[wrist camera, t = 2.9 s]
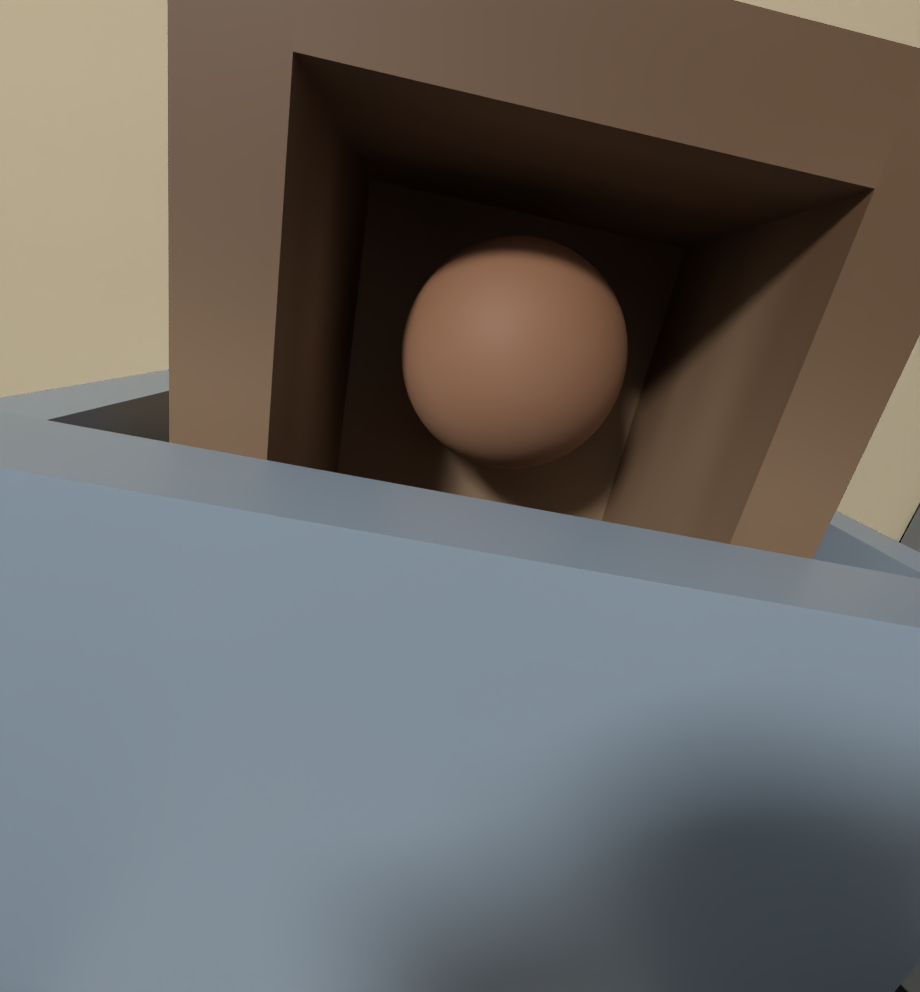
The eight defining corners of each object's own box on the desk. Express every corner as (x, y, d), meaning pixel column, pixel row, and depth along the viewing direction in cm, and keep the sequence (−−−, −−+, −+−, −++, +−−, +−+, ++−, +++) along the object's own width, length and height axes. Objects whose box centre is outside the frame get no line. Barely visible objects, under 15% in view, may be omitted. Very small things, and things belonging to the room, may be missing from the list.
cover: (551, 917, 10) (618, 1338, 6) (208, 874, 10) (16, 1299, 6) (729, 457, 7) (1148, 668, 3) (226, 359, 6) (-206, 432, 2)
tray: (476, 999, 11) (483, 1251, 8) (251, 974, 11) (172, 1228, 8) (742, 203, 6) (1040, 80, 3) (324, 107, 6) (167, -148, 3)
